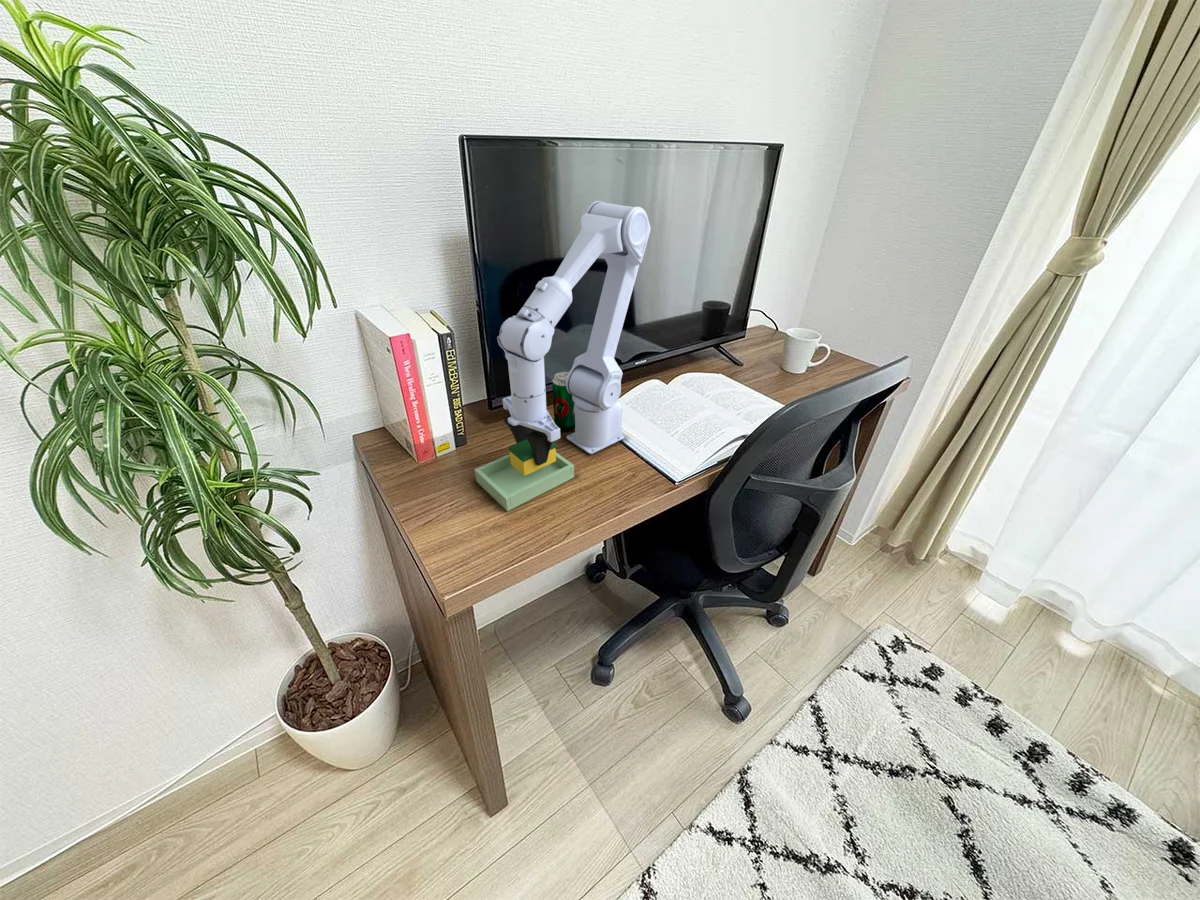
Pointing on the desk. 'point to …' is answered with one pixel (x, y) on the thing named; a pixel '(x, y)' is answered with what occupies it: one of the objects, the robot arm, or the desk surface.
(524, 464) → the sponge
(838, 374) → the desk surface
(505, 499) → the tray
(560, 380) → the soda can
